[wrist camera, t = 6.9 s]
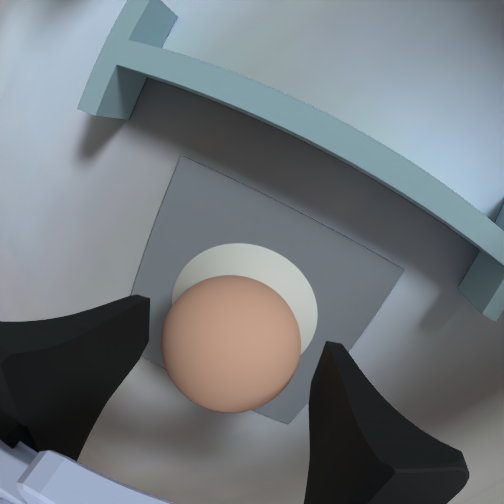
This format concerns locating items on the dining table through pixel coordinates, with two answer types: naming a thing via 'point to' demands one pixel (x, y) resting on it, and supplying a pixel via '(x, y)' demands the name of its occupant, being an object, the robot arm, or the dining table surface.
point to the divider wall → (292, 122)
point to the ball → (230, 343)
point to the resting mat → (261, 267)
